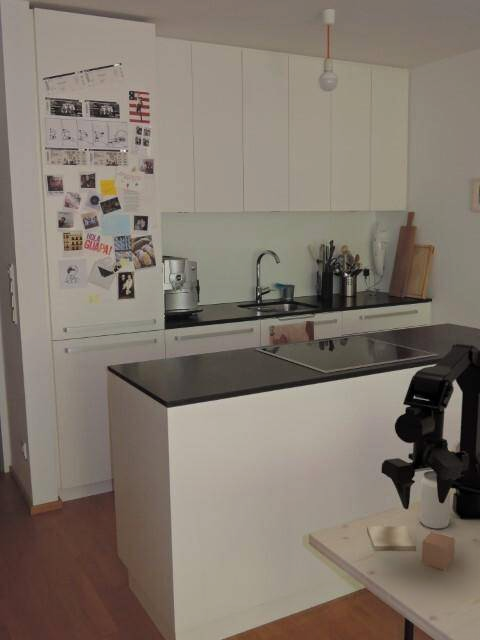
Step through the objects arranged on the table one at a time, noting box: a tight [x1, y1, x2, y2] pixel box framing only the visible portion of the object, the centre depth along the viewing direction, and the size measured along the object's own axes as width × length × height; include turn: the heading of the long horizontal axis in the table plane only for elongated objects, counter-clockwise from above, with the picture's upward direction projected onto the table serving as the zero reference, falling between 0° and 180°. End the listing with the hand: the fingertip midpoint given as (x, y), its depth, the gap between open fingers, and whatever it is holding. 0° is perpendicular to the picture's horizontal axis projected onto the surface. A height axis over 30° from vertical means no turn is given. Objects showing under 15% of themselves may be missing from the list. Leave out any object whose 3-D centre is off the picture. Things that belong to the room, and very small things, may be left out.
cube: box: [421, 531, 455, 571], centre depth 137 cm, size 5×5×5 cm
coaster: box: [366, 525, 417, 551], centre depth 146 cm, size 9×9×1 cm
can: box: [419, 470, 451, 530], centre depth 153 cm, size 6×6×12 cm
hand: (423, 505), depth 135 cm, fingers open, 9 cm apart
